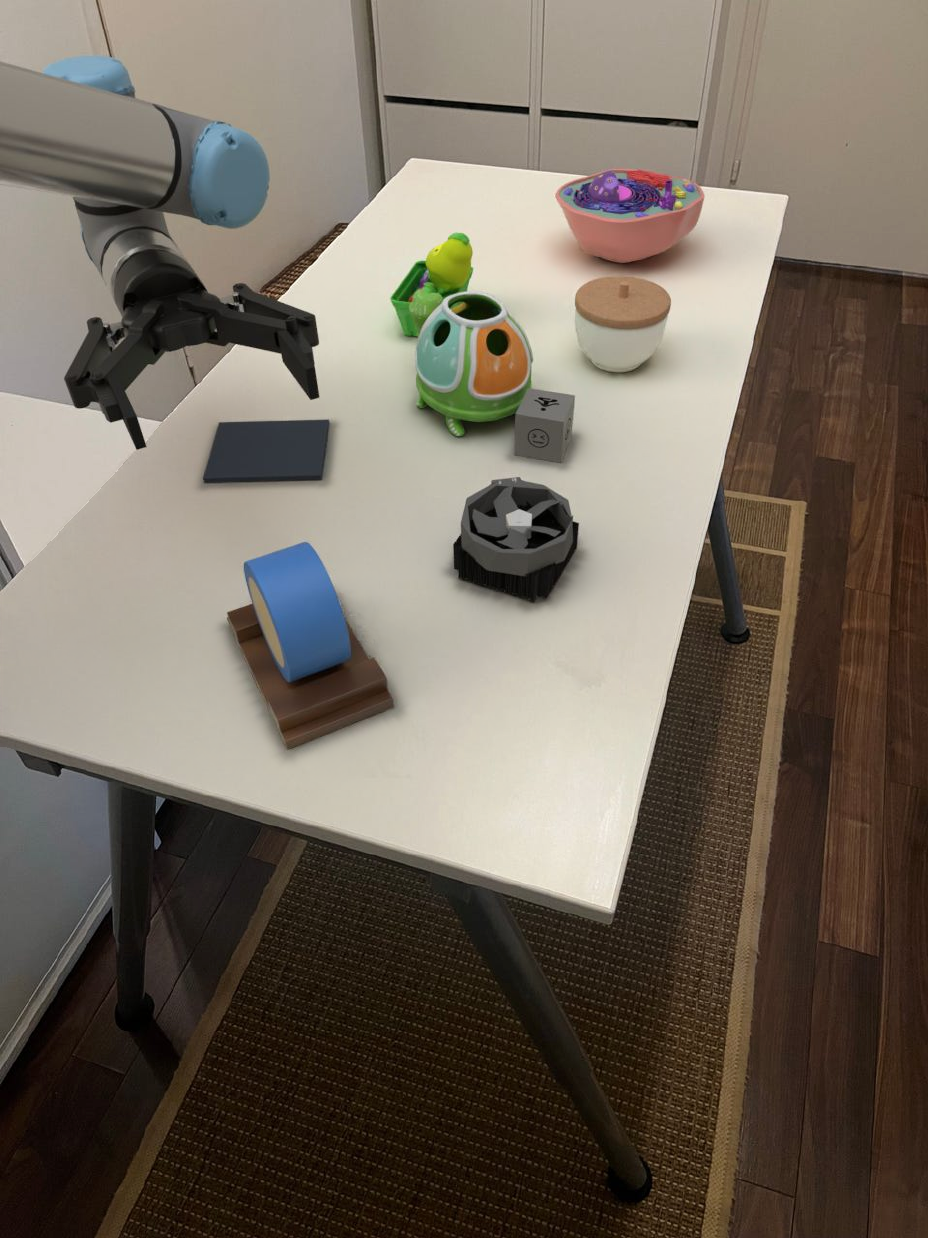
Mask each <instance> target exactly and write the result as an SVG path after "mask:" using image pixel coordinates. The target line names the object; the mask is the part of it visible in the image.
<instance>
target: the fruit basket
mask: <svg viewBox="0 0 928 1238" xmlns="http://www.w3.org/2000/svg"><path fill="white" fill-rule="evenodd" d="M470 241H471V240H470V238H469V236H467V234H465V233H463V232H453V233H452V234H450V235H449V236H448V238H447V240H445V241H444V242H442V243H440V244H437V245H436V246H435V247H433V248H432V249H431V250H430V251H429V252H428V254H427V256H426V259H425V260H417V261H416V262H415V263H414V264H413V266H412V267H411V268H410V270H409V271H408V272H407V274H406V275H405V277H404V278H403V279H402V281H401V282H400V284H399V285H398V287H397V288H396V289H395V290H394V292H393V293H392V295H390V297H389V300H390V302H391V305H392V306H393V307H394V309H395V312H396V315H397V318H398V320H399V323H400V326H401V329H402V331H403V335H404V336H408V337H409V336H414V337H417V338H418V335H417V330H416V327H415V324H414V322H413V320H412V318H411V316H410V313H409V305H410V304H411V303H412V301H413V295H414V293H415V292H416V291H418V290H423V291H426V292H428V293H430V294H431V293H438V294H440V295H441V296H442V298H443V300H444V299H445V298H446V297H448V296H450V295H453V294H456V293H460V292H466V291H468V288H469V284H470V280H471V278H472V275H473V272H474V267H473V266H472V258H473V253H474V252H473V251H474V250H473V247H472V245H471V243H470ZM462 303H463V302H457V303H455V304H454V305H452V306H451V307H450V308H449V309H452V308H455V307H457V306H459V305H460V304H462Z"/></svg>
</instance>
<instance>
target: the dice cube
mask: <svg viewBox="0 0 928 1238" xmlns="http://www.w3.org/2000/svg"><path fill="white" fill-rule="evenodd" d="M575 402H576V394H571V393H570V394H569V393H563V392H557V391H550V390H543V389H537V388H532V389H531V388H528V389H527V391H526V393H525V395H524V397H523V399H522V402H521V404H520V406H519V408H518V410H517V412H516V413H514V414H515V416H514V449H513V454H514V455H513V456H519V457H525V458H529V459H535V460H541V461H548V462H554V463H558V464H562V462H563V459H564V457H565V454H566V451H567V449H568V447H569V444H570V441H571V439H572V437H573V426H574V425H573V424H574V414H575Z"/></svg>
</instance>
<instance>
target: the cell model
mask: <svg viewBox="0 0 928 1238" xmlns="http://www.w3.org/2000/svg"><path fill="white" fill-rule="evenodd" d="M705 197H706V195H705V193H704V191H703V189H702V187H701V185H699V184H698V183H696V182H694V181H692V180H689V179H686V178H683V177H680V176H674V175H671V174H667V173H662V172H659V171H655V170H650V169H638V168H611V169H609V168H608V169H606V170H605V169H604V170H603V171H600V172H597V173H592V174H590V175H587V176H583V177H580V178H576V179H573V180H570V181H568V182H566V183H564V184H563V185H561V186H560V187H559V188H558V189H557V190H556V192H555V199H556V201H557V203H558V205H559V207H560V209H561V210H562V213H563V214H564V217H565V219H566V222H567V224H568V227H569V229H570V231H571V233H572V234H573V236H574V238H575V239H576V243H577V244H578V246H579V248H580V249H581V250H582V251H583V252H584V253H586V254H588V255H590V256H594V257H597V258H600V259H603V260H606V261H609V262H613V263H621V264H625V263H631V262H636V261H641V260H645V259H647V258H650V257H652V256H656V255H659V254H661V253H664V252H666V251H667V250H669V249H670V248H672V247H674V246H675V245H676V244H678V243H679V242H680V241H682V240H683V239H685V238H686V237H687V236H688V235H689V234H690V233H691V232H692V231H693V230H694V229H695V227H696V226H697V225H698V223H699V220H700V217H701V214H702V210H703V205H704V202H705Z"/></svg>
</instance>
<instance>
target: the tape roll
mask: <svg viewBox="0 0 928 1238" xmlns="http://www.w3.org/2000/svg"><path fill="white" fill-rule="evenodd" d="M243 575H244V579H245V583H246V587H247V591H248V594H249V597H250V601H251V604H253V607H254V610H255V613H256V616H257V619H258V622H259V624H260V627H261V630H262V632H263V635H264V637H265V640H266V642H267V645H268V647H269V649H270V652H271V654H272V656H273V658H274V660H275V662H276V664H277V667H278V668H279V670H280V672H281V674H282V675H283V677H284V678H285V680H286V681H287V682H289V683H290V682H293V681H295V680H298V679H301V678H303V677H306V676H309V675H311V674H314V673H317V672H319V671H322V670H324V669H327V668H330V667H332V666H335V665H338V664H340V663H343V662H346V661H348V660H349V659H350V656H351V646H350V639H349V634H348V630H347V625H346V622H345V619H346V617H345V615H344V612H343V609H342V606H341V603H340V600H339V597H338V593H337V592H336V589H335V587H334V584H333V582H332V580H331V577H330V575H329V573H328V570H327V569H326V567H325V565H324V563H323V561H322V559H321V557H320V555H319V553H318V552H317V551H316V550H315V548H314V547H313V545H311V543H310V542H307V541H303V542H300V543H297V544H293V545H291V546H287V547H284V548H282V549H279V550H275V551H273V552H270V553H267V554H263V555H260V556H258V557H255V558H251V559H248V560H245V561H244V562H243ZM344 617H345V618H344Z"/></svg>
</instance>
